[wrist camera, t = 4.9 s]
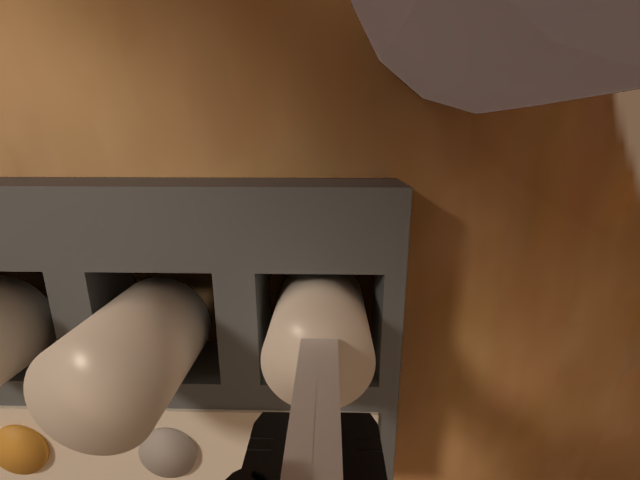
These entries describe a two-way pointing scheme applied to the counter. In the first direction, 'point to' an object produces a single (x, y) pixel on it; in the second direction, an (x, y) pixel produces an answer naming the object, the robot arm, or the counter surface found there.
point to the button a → (22, 326)
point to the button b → (118, 368)
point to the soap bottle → (506, 49)
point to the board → (228, 289)
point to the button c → (319, 332)
